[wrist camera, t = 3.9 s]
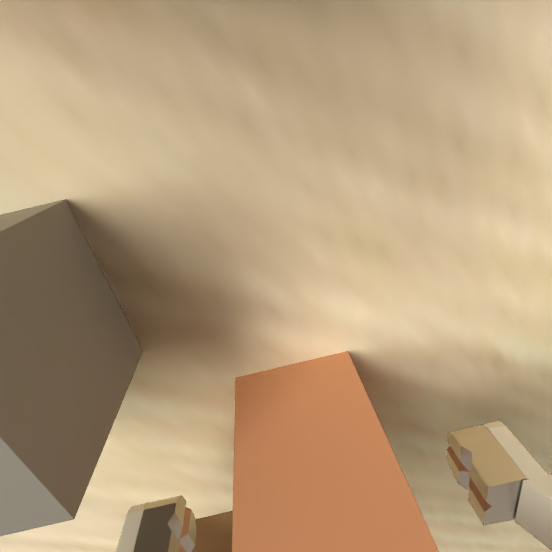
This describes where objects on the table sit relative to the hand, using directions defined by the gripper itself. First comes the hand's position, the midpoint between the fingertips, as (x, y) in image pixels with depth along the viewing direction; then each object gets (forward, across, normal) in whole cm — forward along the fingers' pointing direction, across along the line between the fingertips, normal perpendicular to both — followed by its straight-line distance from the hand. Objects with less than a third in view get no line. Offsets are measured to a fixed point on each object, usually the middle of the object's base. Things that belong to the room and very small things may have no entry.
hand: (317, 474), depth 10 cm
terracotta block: (+3, 0, 0) cm, 3 cm away
